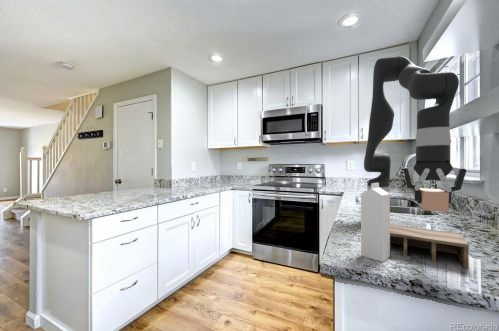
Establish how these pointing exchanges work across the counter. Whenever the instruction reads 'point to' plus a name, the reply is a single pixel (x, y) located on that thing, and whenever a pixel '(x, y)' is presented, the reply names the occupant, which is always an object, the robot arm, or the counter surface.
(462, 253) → the wooden bench
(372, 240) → the milk
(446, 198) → the block
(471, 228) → the counter surface
